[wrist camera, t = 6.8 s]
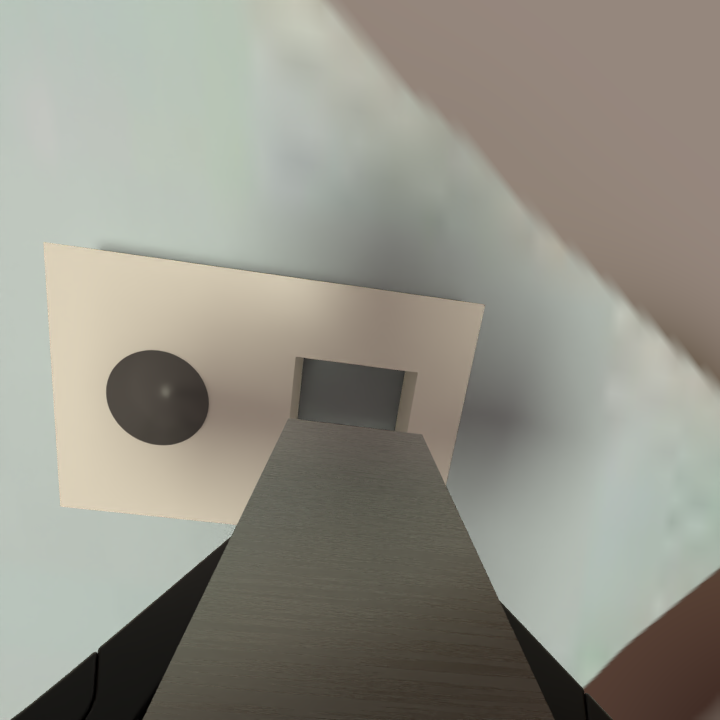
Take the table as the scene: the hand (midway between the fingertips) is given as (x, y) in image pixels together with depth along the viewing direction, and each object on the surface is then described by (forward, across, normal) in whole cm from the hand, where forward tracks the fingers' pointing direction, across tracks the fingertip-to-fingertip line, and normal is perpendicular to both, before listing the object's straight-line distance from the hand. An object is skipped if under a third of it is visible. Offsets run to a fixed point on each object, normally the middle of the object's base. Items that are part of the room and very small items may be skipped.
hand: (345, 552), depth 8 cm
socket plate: (+10, +4, 0) cm, 11 cm away
